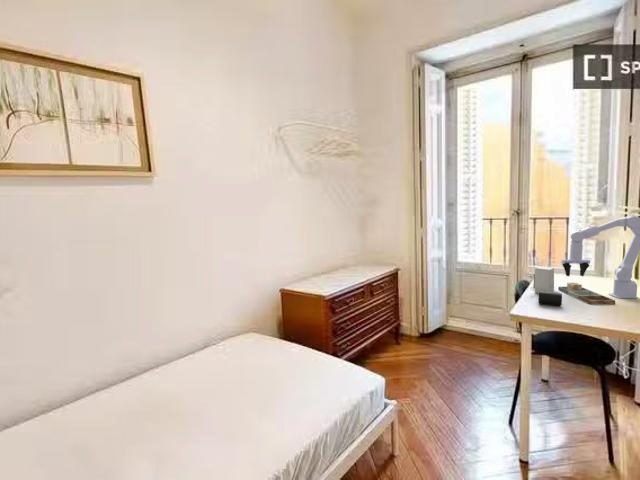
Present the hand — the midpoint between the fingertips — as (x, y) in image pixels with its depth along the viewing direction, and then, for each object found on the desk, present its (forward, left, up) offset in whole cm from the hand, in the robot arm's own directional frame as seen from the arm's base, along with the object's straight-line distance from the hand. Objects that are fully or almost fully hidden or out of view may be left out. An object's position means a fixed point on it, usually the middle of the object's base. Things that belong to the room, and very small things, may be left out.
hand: (574, 275), depth 210 cm
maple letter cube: (0, 0, -10) cm, 10 cm away
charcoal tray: (0, 0, -9) cm, 9 cm away
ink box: (+13, -8, -10) cm, 18 cm away
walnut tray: (0, +20, -9) cm, 22 cm away
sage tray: (0, +10, -9) cm, 14 cm away
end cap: (+26, +25, -10) cm, 37 cm away
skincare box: (+18, +3, -10) cm, 21 cm away
